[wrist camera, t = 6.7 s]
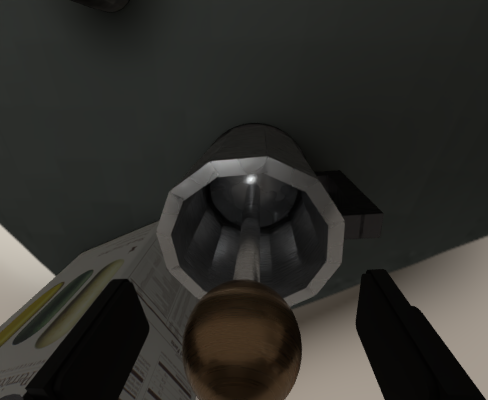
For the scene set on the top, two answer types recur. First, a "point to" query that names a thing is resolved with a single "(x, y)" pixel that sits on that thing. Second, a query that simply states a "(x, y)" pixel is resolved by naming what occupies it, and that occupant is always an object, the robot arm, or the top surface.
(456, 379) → the robot arm
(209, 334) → the plunger
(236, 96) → the top surface
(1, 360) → the supplement box
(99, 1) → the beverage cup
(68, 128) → the top surface
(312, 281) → the carafe
